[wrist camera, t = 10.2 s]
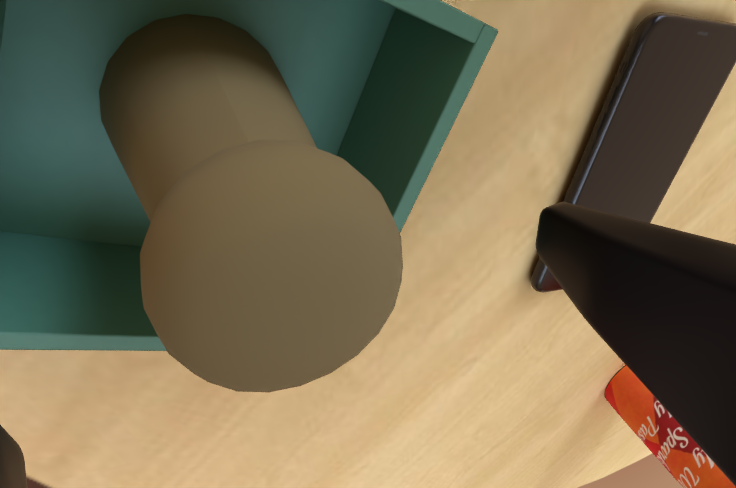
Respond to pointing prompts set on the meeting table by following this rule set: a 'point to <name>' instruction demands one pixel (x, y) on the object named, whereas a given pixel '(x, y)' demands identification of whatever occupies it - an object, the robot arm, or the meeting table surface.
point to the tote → (109, 180)
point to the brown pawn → (244, 211)
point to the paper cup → (663, 433)
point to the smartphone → (650, 118)
